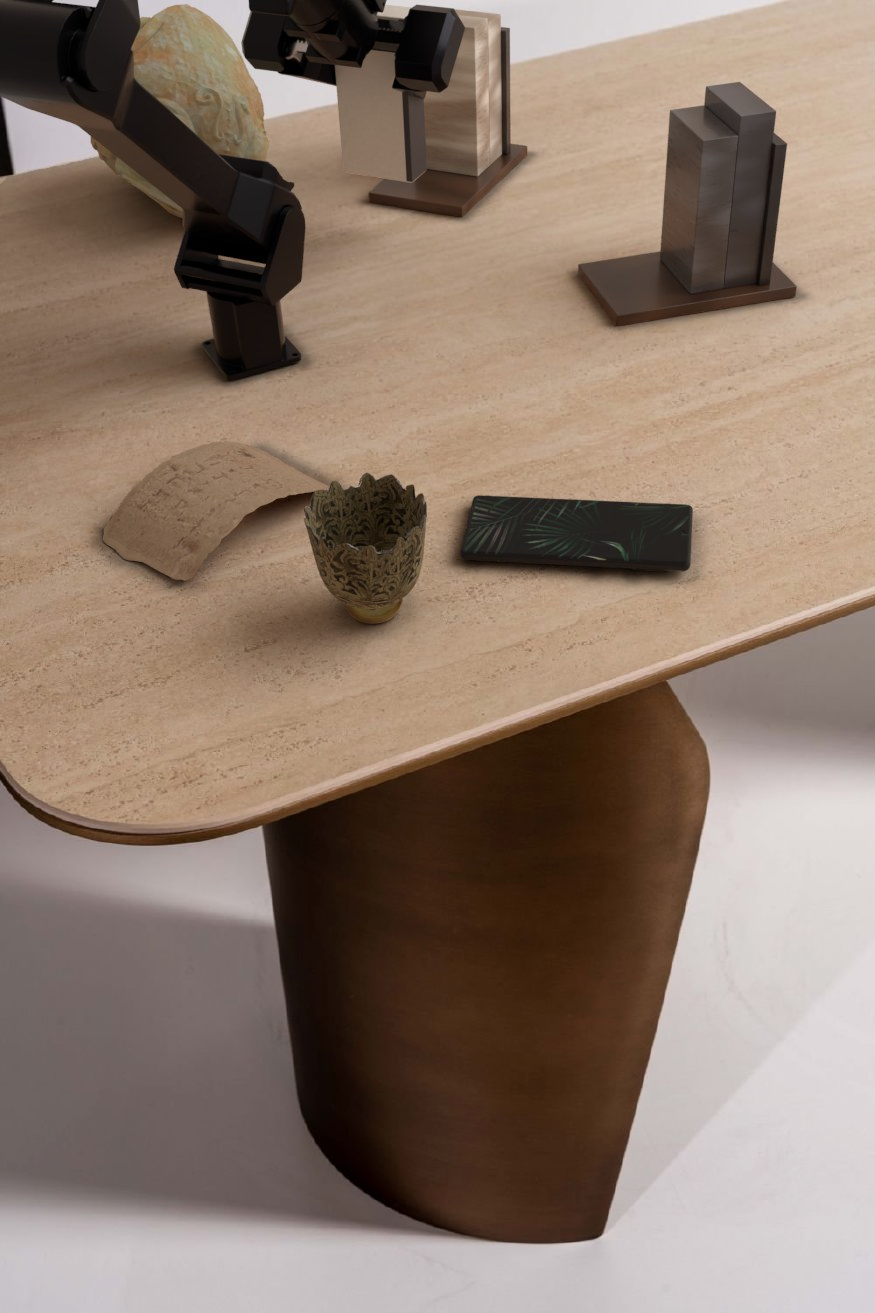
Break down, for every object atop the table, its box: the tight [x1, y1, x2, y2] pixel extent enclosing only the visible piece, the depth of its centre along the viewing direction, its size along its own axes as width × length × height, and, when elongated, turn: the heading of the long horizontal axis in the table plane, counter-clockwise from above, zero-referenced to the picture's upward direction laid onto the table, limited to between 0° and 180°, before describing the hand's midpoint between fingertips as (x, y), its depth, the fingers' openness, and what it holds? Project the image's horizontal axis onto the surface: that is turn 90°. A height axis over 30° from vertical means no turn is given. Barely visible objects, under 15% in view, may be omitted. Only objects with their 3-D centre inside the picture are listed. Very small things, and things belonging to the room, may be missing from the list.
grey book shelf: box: [577, 81, 798, 327], centre depth 117 cm, size 16×10×16 cm, turn 105°
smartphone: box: [459, 494, 694, 573], centre depth 95 cm, size 7×1×15 cm
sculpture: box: [90, 3, 270, 219], centre depth 136 cm, size 18×20×20 cm
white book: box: [335, 4, 427, 183], centre depth 124 cm, size 3×7×14 cm, turn 64°
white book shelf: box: [368, 8, 528, 218], centre depth 137 cm, size 16×10×15 cm, turn 154°
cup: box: [303, 472, 428, 625], centre depth 88 cm, size 8×7×8 cm
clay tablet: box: [102, 440, 330, 581], centre depth 98 cm, size 14×10×3 cm
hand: (387, 88), depth 125 cm, fingers closed on white book, 7 cm apart
